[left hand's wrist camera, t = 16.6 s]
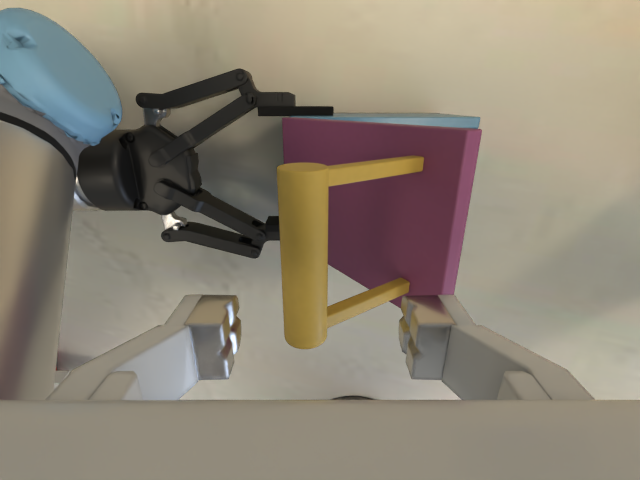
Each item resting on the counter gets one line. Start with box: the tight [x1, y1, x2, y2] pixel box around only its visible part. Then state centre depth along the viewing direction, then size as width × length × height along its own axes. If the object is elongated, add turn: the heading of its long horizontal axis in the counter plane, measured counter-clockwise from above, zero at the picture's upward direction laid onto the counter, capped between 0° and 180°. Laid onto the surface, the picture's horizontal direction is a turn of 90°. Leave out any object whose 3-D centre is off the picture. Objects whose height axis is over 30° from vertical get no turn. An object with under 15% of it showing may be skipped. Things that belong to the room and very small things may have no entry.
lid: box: [277, 117, 482, 349], centre depth 20 cm, size 16×10×9 cm
